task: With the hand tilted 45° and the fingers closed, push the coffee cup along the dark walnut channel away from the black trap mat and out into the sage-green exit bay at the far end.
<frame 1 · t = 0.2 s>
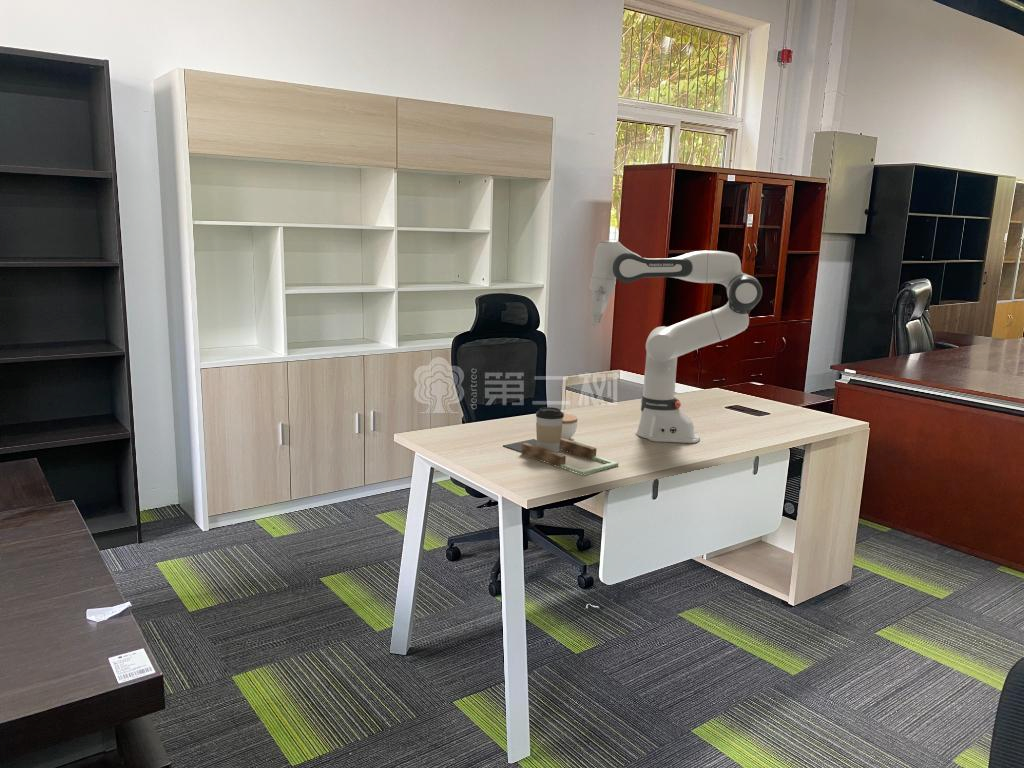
hand: (596, 324, 269), 39 cm above the table, tool pointing down, fingers open, 8 cm apart
channel: (558, 456, 242), on the table
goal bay: (587, 466, 233), on the table
lidded jar: (561, 439, 264), on the table
coffee cup: (548, 453, 246), on the table
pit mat: (527, 445, 253), on the table
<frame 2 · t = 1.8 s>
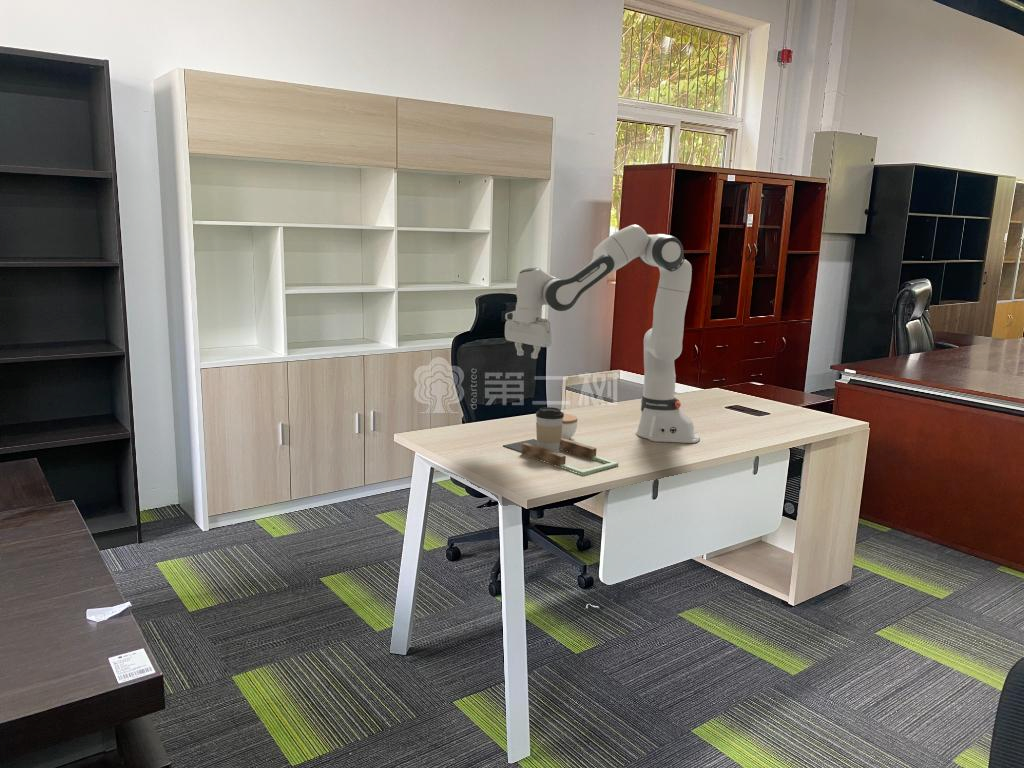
hand: (527, 356, 255), 29 cm above the table, tool pointing down, fingers open, 6 cm apart
nothing on the table moved.
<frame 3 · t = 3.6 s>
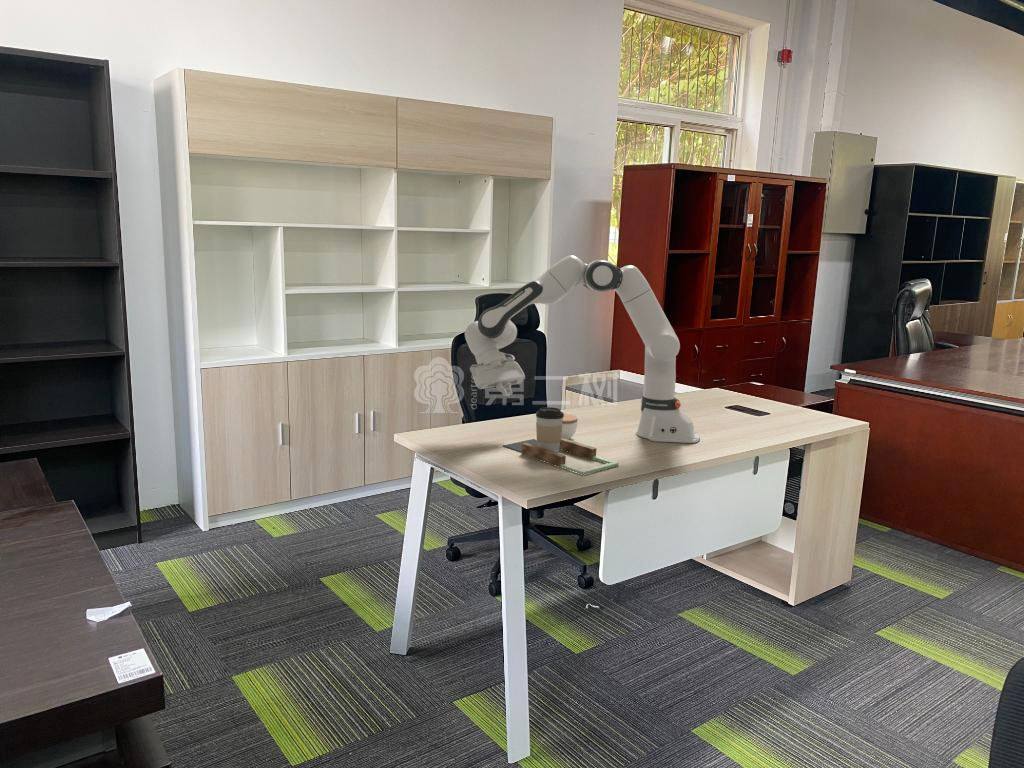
hand: (508, 394, 258), 16 cm above the table, tool tilted 45°, fingers closed
nothing on the table moved.
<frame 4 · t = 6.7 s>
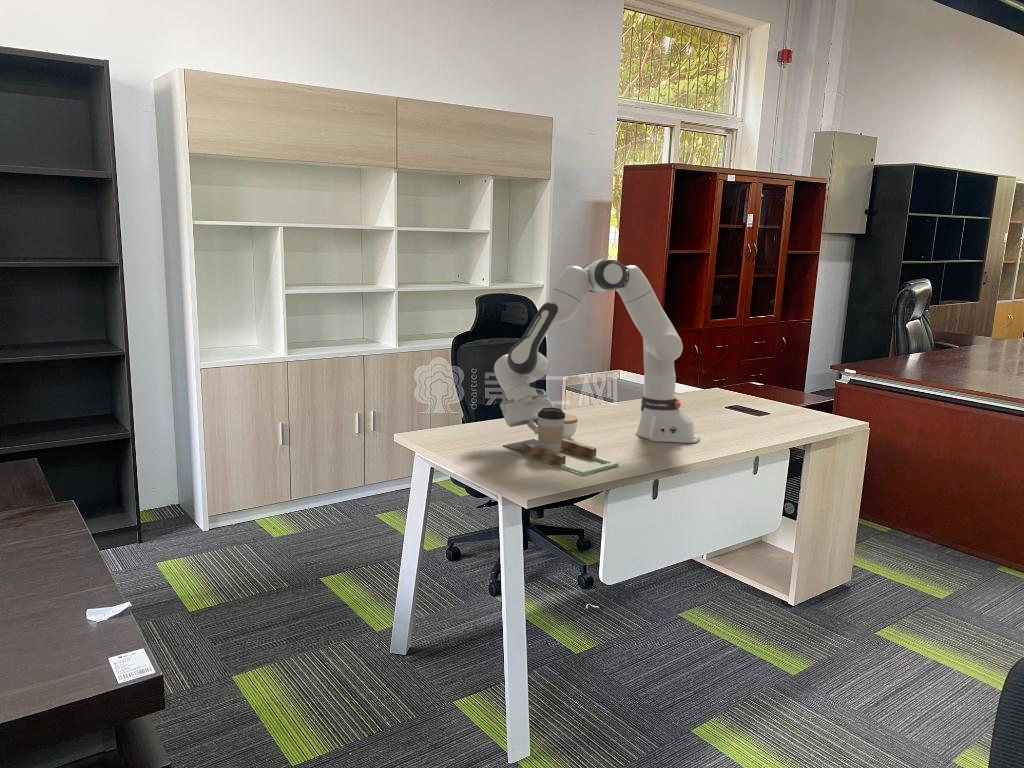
hand: (540, 432, 248), 6 cm above the table, tool tilted 45°, fingers closed, pressing on coffee cup
coffee cup: (549, 453, 245), on the table, touching gripper
everything else where it was.
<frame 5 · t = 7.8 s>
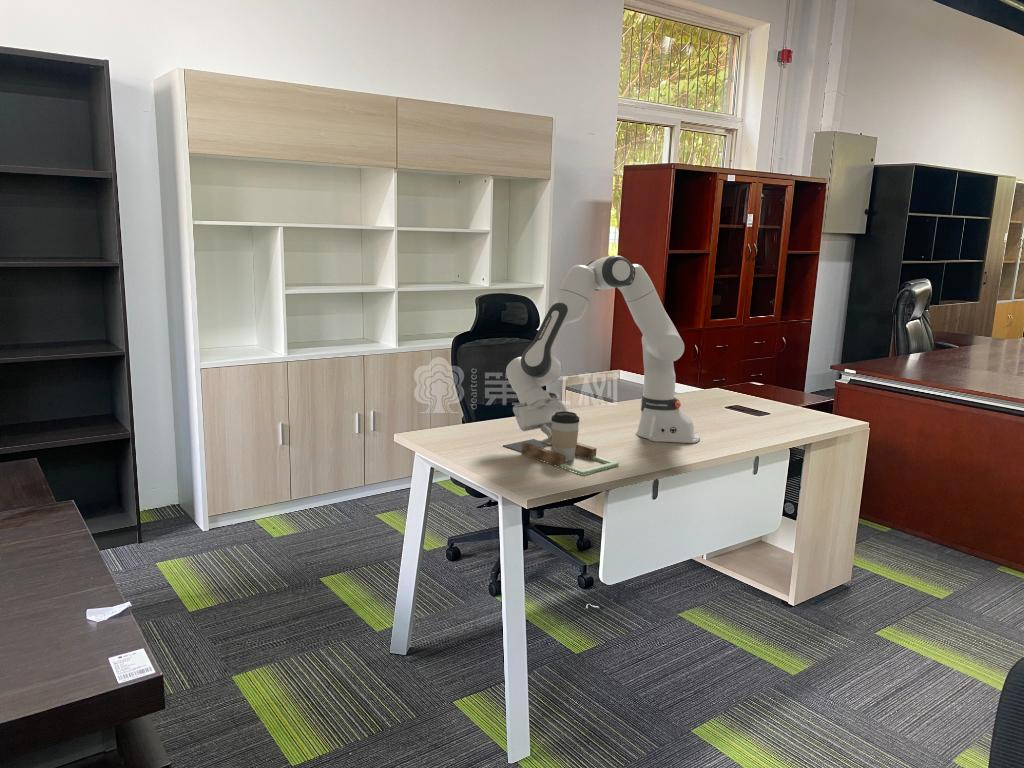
hand: (553, 436, 243), 6 cm above the table, tool tilted 45°, fingers closed, pressing on coffee cup
coffee cup: (563, 458, 241), on the table, touching gripper
everything else where it was.
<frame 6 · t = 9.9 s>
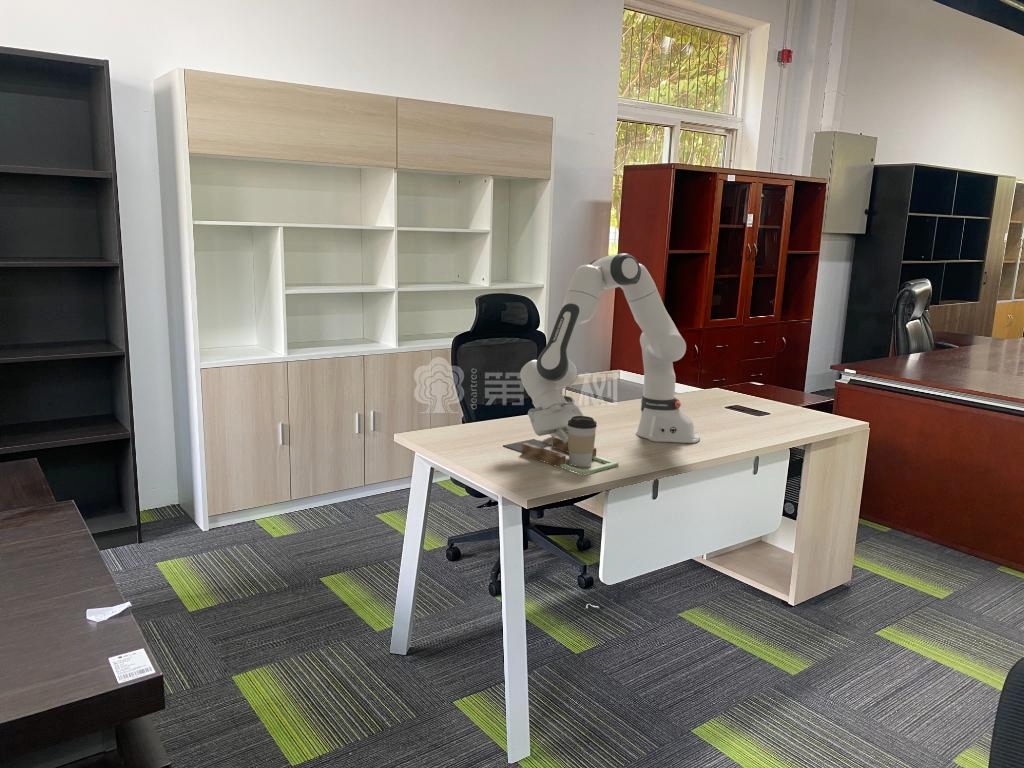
hand: (569, 441, 238), 6 cm above the table, tool tilted 45°, fingers closed, pressing on coffee cup
coffee cup: (580, 464, 235), on the table, touching gripper
everything else where it was.
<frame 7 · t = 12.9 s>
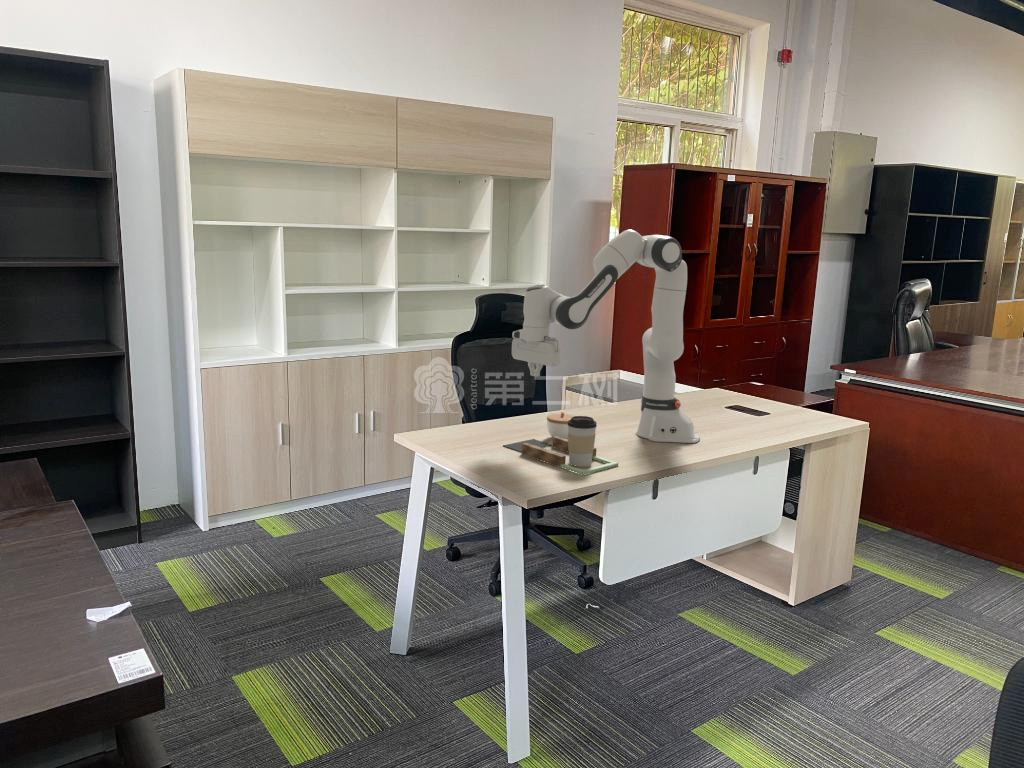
hand: (535, 375, 250), 24 cm above the table, tool pointing down, fingers closed
coffee cup: (580, 464, 235), on the table
everything else where it was.
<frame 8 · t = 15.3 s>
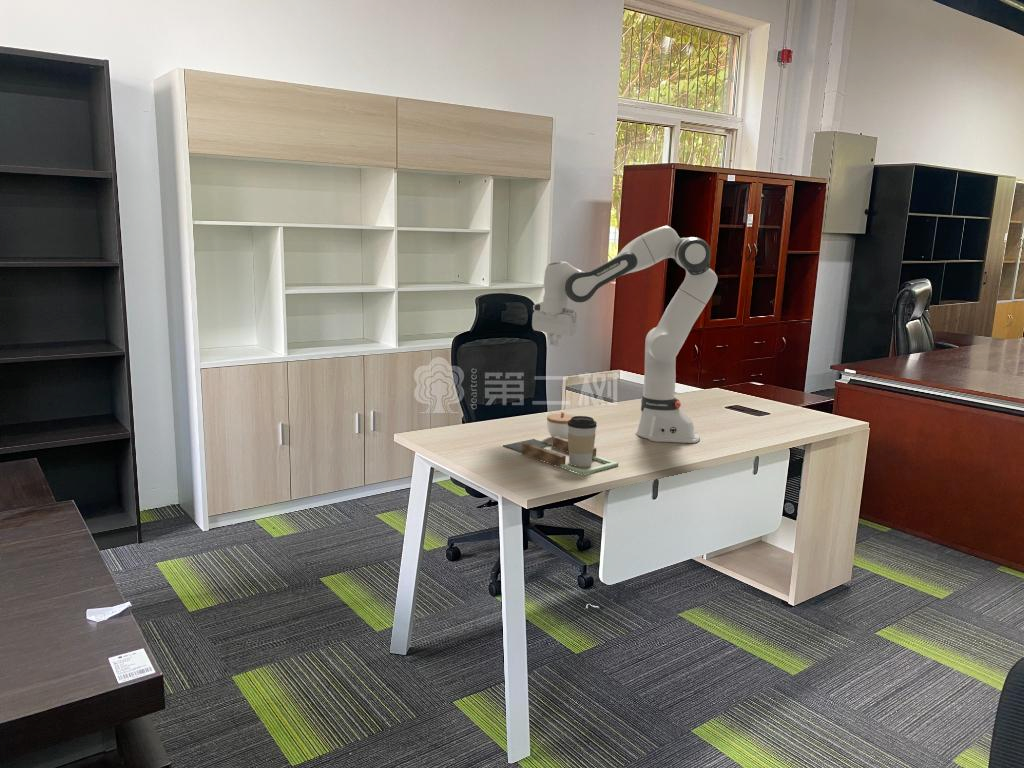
hand: (553, 345, 270), 31 cm above the table, tool pointing down, fingers closed
nothing on the table moved.
at the end: coffee cup 3.4 cm from the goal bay (horizontally); coffee cup tilted 0°; coffee cup moved 14.6 cm from its start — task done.
